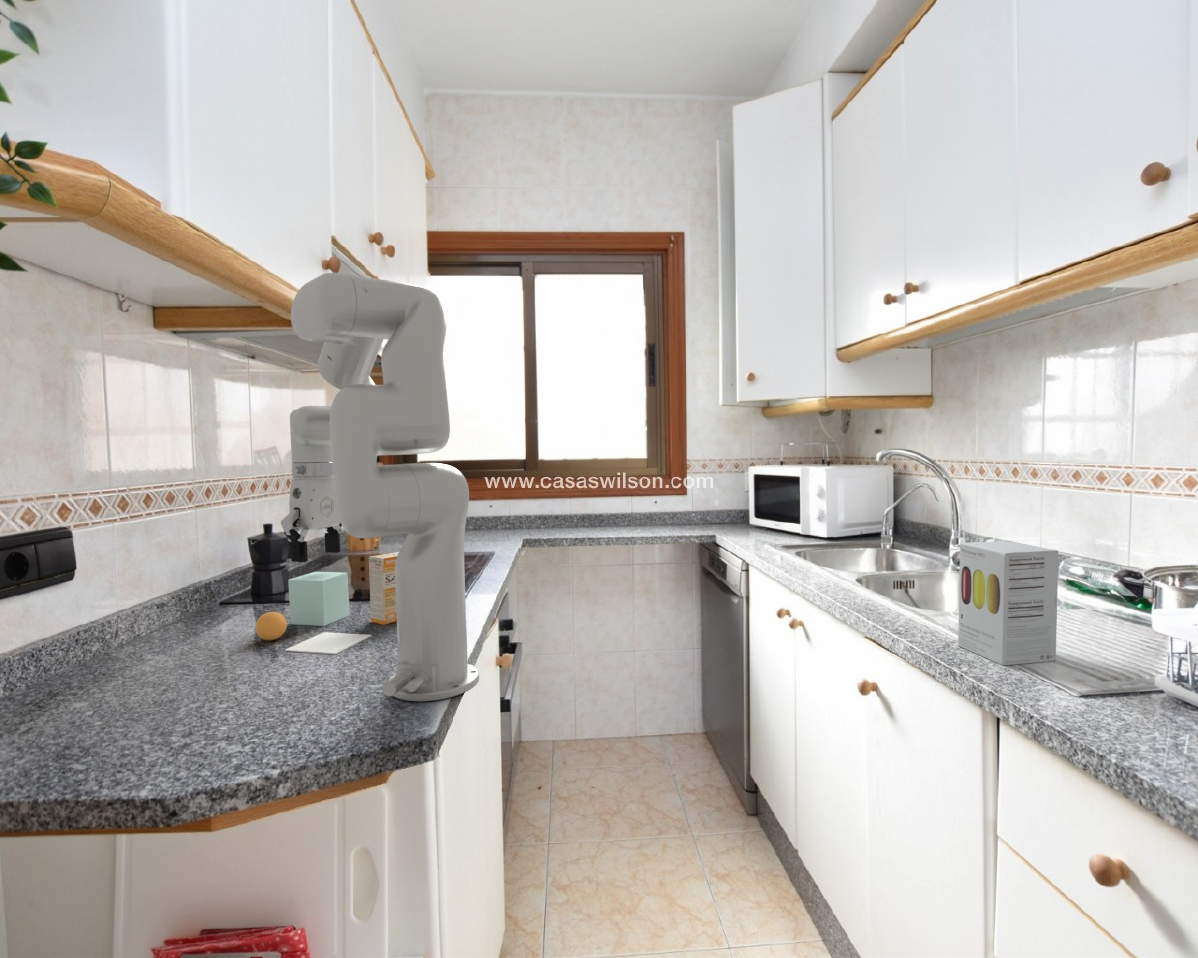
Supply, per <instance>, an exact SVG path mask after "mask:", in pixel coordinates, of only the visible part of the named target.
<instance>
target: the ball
mask: <svg viewBox="0 0 1198 958" xmlns="http://www.w3.org/2000/svg"><path fill="white" fill-rule="evenodd" d="M287 625H288V622H287V619H286V618H285V616H284V615H283V614H281V613H280V612H278V611H268V612H266V613H264V614H262V615H261V616H259V618H258V619H257V620H256V623H255V632H256V634H257V635H258V637H259V638H261V639H262V640H265V641H274V640H277V639H280V638H281V637H282V636H283V635H284V633H285V632H286V631H287Z"/></svg>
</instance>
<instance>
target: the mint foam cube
mask: <svg viewBox="0 0 1198 958" xmlns="http://www.w3.org/2000/svg"><path fill="white" fill-rule="evenodd" d="M287 580H288V583H287V584H288V600H289V602H288V603H289V616H290V617H289V619H290V622H289V623H290V625H300V626H301V625H302V626H319V627H326V626H327V625H330V624H332V623H334V622H337V621H339V620H342V619H344V618H347V617H349V616H350V614H351V613H350V596H349V595H350V594H349V593H350V592H349V575H348V572H336V571H335V572H333V571H313V572H310V573H307V574H303V575H299V576H296V577H293V578H289V579H287Z"/></svg>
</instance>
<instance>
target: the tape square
mask: <svg viewBox="0 0 1198 958" xmlns="http://www.w3.org/2000/svg"><path fill="white" fill-rule="evenodd" d="M370 637H372V634H360V633H346V632H345V633H344V632H327V631H326V632H325V631H324V632H321V633H320V634H317V635H314V636H313V637H312V636H311V637H310V638H308V639H306V640H303V641H301V642H298V643H297V644H294V645H292V646H290V647H288V648H286V649H284V651H285V652H295V653H296V652H298V653H311V654H324V655H325V654H326V655H337V654H339V653H341V652H343V651H345V650H348V649H349V648H351V647H354V646H356V645H357V644H359V643H361V642H363V641H365V640H367V639H369V638H370Z"/></svg>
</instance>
